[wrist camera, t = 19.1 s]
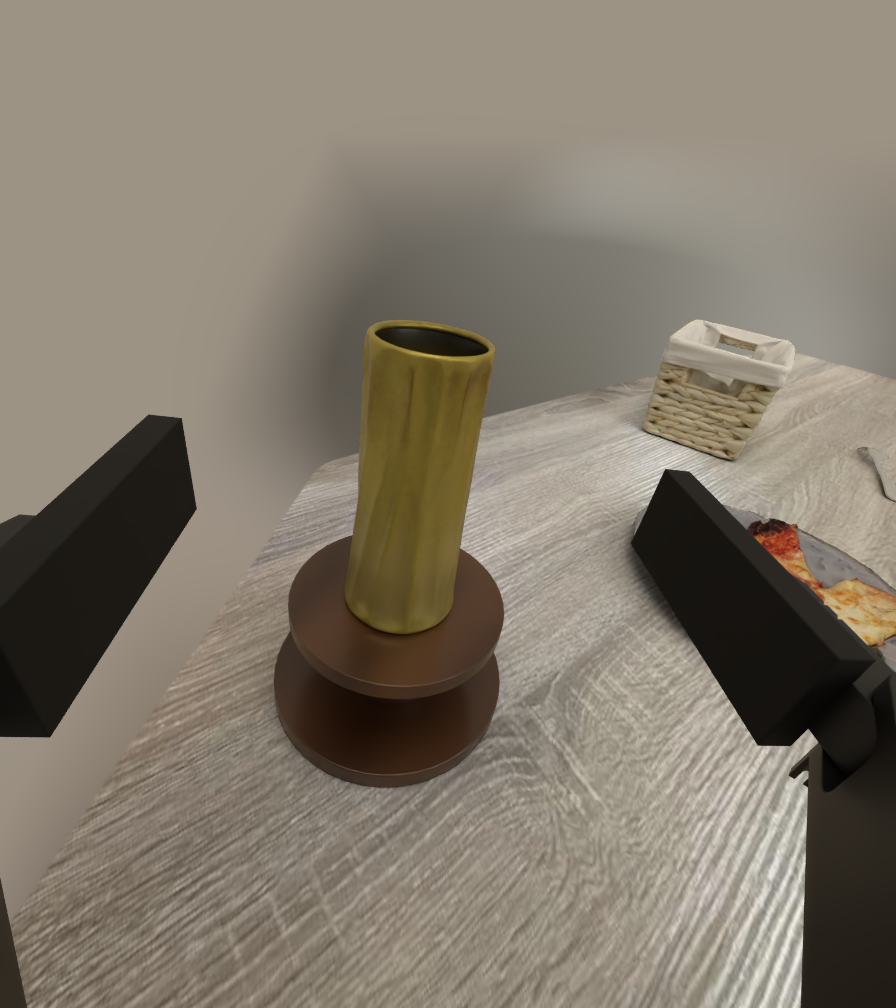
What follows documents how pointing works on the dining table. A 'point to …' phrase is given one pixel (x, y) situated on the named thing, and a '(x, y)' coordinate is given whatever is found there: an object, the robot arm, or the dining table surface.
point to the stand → (386, 678)
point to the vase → (414, 470)
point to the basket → (716, 387)
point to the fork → (882, 471)
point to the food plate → (829, 579)
